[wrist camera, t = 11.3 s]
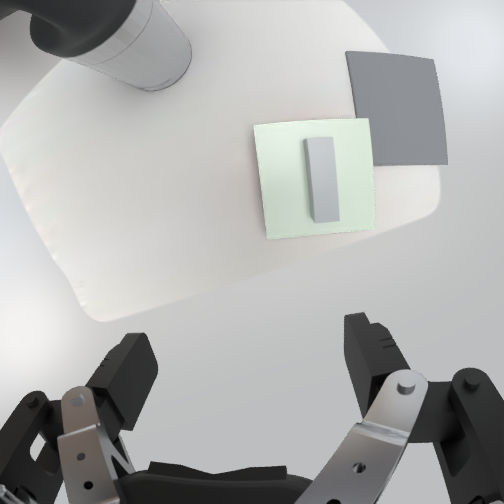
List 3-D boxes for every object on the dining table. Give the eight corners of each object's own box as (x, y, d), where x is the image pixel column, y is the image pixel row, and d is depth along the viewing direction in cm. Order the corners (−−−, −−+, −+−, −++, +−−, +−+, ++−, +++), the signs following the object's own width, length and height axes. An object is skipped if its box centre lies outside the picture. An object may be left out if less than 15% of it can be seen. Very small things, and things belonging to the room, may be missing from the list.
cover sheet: (253, 126, 29) (251, 122, 25) (366, 119, 28) (378, 115, 24) (267, 237, 32) (266, 248, 29) (373, 227, 31) (385, 236, 28)
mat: (345, 52, 29) (346, 51, 29) (431, 60, 28) (433, 59, 28) (361, 166, 34) (362, 166, 33) (445, 164, 33) (447, 164, 32)
